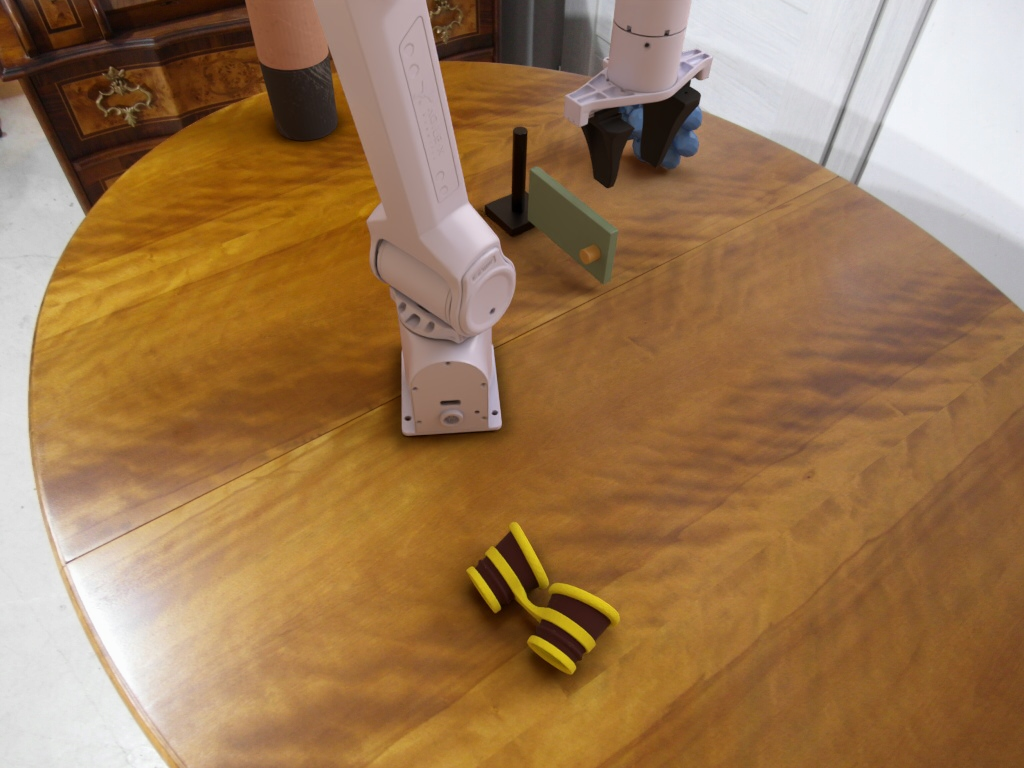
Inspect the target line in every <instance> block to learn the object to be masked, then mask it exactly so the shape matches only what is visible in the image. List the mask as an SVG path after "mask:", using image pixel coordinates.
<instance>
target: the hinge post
mask: <svg viewBox="0 0 1024 768" xmlns="http://www.w3.org/2000/svg"><path fill="white" fill-rule="evenodd" d="M511 150H512V154H511V156H512V157H511V193H510V194H508V195H505V196H503V197H500V198H498V199H496V200H493V201H490V202H489V203H486V204H484V213H485V214H486V215H487V216H488V217H489V218H490V219H492V221H494V223H496V224H497V225H498V226H499V227H500V228H501V229H502V230H503V231H504V232H506V233H507V234H508V235H509V236H510V237H512V238H513V237H516V236H518V235H520V234H523V233H525V232H527V231H529V230H532V229H535V228H536V227H535V226H534V225H533V224H532V223H531V222H530V221H529V220H528V199H529V192H528V191H526V188H527V187H526V184H527V159H528V158H527V156H528V155H527V154H528V128H526V127H524V126H515V127H514V128H513V129H512V149H511Z"/></svg>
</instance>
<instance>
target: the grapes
mask: <svg viewBox="0 0 1024 768" xmlns="http://www.w3.org/2000/svg"><path fill="white" fill-rule="evenodd" d="M619 113H622V119H623V120H624V121H626V122H627V123H629V124H630V125H631V126H633V127H634V128H635V129H634V131H633V132H632V134H631V135H630V137H629V139H628V141H632V145H631V147H632V152H633V154H634V156H635V158H636V159H637V160H638V161H639V162H642V163H647V162H646V161H644V160H643V159H641V156H640V144H641V135H642V126H643V104H636V105H629V106H621V107H619ZM702 123H703V111H702V108H701V107H700V105H699V106H698V107H697V108H696V109H695V110H694V111H693V112H692V113H691V114H690V115H689V117H688V118H687V119H686V120H685V122H684V123H683V125H682V126H681V128H680V129H679V131H678V132H677V134H676V136H675V138H674V140H673V141H672V143H671V145H670V147H669V149H668V151H667V154H666V156H665V158H664V160H663V162H662V164H661V165H660V167H662V168H664V169H666V170H673V169H677V167H678V166H679V165H680V163H681V159H682V157H684V158H691V157H694V156H695V155H696V154H697V153H698V151H699V146H700V142H699V137H698V135H697V134H696V133H695V131H696V130H698V129H699V128H700V126H702Z"/></svg>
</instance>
